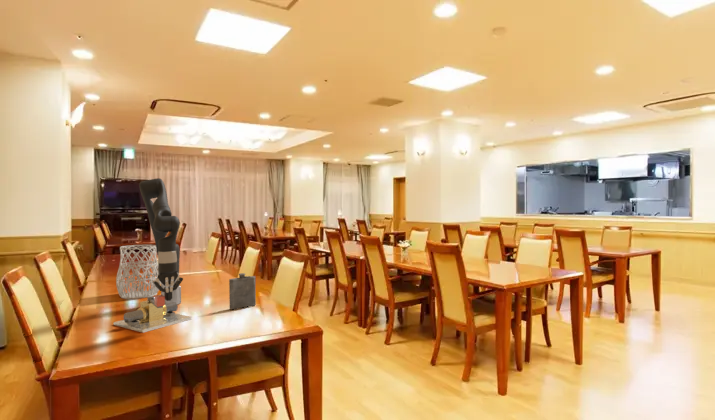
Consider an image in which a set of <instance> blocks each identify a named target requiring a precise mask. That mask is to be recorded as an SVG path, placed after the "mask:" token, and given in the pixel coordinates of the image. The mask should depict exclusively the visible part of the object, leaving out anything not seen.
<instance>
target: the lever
mask: <svg viewBox="0 0 715 420" xmlns="http://www.w3.org/2000/svg"><path fill="white" fill-rule="evenodd" d="M146 298H147V300H146V301H149V302H151V303H152V304H153V305H154V306H155V307H157V308H163V306H165V296H163V295H161V294H157V295H154V296H151V297H146Z"/></svg>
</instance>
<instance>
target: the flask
mask: <svg viewBox="0 0 715 420" xmlns="http://www.w3.org/2000/svg"><path fill="white" fill-rule="evenodd" d="M238 276H239V277H235V278H234V277H233V278H229V280H228V282H229V284H228V285H229V287H228V289H229V290H228V291H229V292H228V293H229V298H228V299H229V310H230V309H235V310H238V309H237V308H240V309H243V308H242V307H245V308H248V307H247V306H252V307H255V305H256V303H257V300H256V275H252V276H250V275H246V273H245V272H244V273H239V274H238ZM256 306H257V305H256Z"/></svg>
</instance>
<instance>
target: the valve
mask: <svg viewBox="0 0 715 420" xmlns="http://www.w3.org/2000/svg"><path fill="white" fill-rule="evenodd" d="M177 311H178V304H177V303H176V302H172V303H168V304H165V306H163V308H157V307H155V306H154V305H153V304H152V303H151V302H149V301H147V300H143V301H139V307H138V308H137V309H136V310H133V311H130V312H129V311H128V312H125V313H124V314H123V320H117V321H114V322H113V326H116V327H119V328H120V327H121V328H125V329H128V330H132V331H135V332H140V333H147V332H150V331H153V330H154V331H155V330H157V329H161V328H165V327H169V326H173V325H175V324H179V323H182V322H186V321H189V320H192V316H190V315H184V314H179V313H176V312H177Z"/></svg>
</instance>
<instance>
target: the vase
mask: <svg viewBox="0 0 715 420" xmlns="http://www.w3.org/2000/svg"><path fill="white" fill-rule="evenodd" d="M145 249H146V251H145ZM135 250H139V251H137V252H136V251H135ZM128 251H129V252H128ZM119 253H120V258H119V259H120V260H119V266H118V269H117V273H116V277H115V285H116V289H117V293H118V295H119V297H120V298H121V299H125V300H130V299H131V300H134V299H135V300H136V299H145V298H148V297H152V296H155V295H158V293H159V291H160V290H159V289H158V288H157V287H156V286H155V285H154V284H153V283H152V282H153V281H155V280H156V279H157V277H158V274H159V273H158V257H157V250H156V244H133V245H132V244H131V245H122V246H121V245H120V246H119ZM140 253H141V254H142V255H143V256H140ZM148 253H149V254H150V256H149V254H148ZM131 254H133V255H134V256H133V257H132V256H131ZM144 259H146V260H144ZM127 260H128V261H129V262H127ZM135 260H137V262H136V261H135ZM150 269H151V271H150ZM141 270H142V273H141V272H140V271H141ZM130 271H132V273H131V274H130ZM140 276H141V277H140ZM159 282H160V281H159ZM159 285H160V286H161V282H160V283H159ZM147 288H148V289H147Z"/></svg>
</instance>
